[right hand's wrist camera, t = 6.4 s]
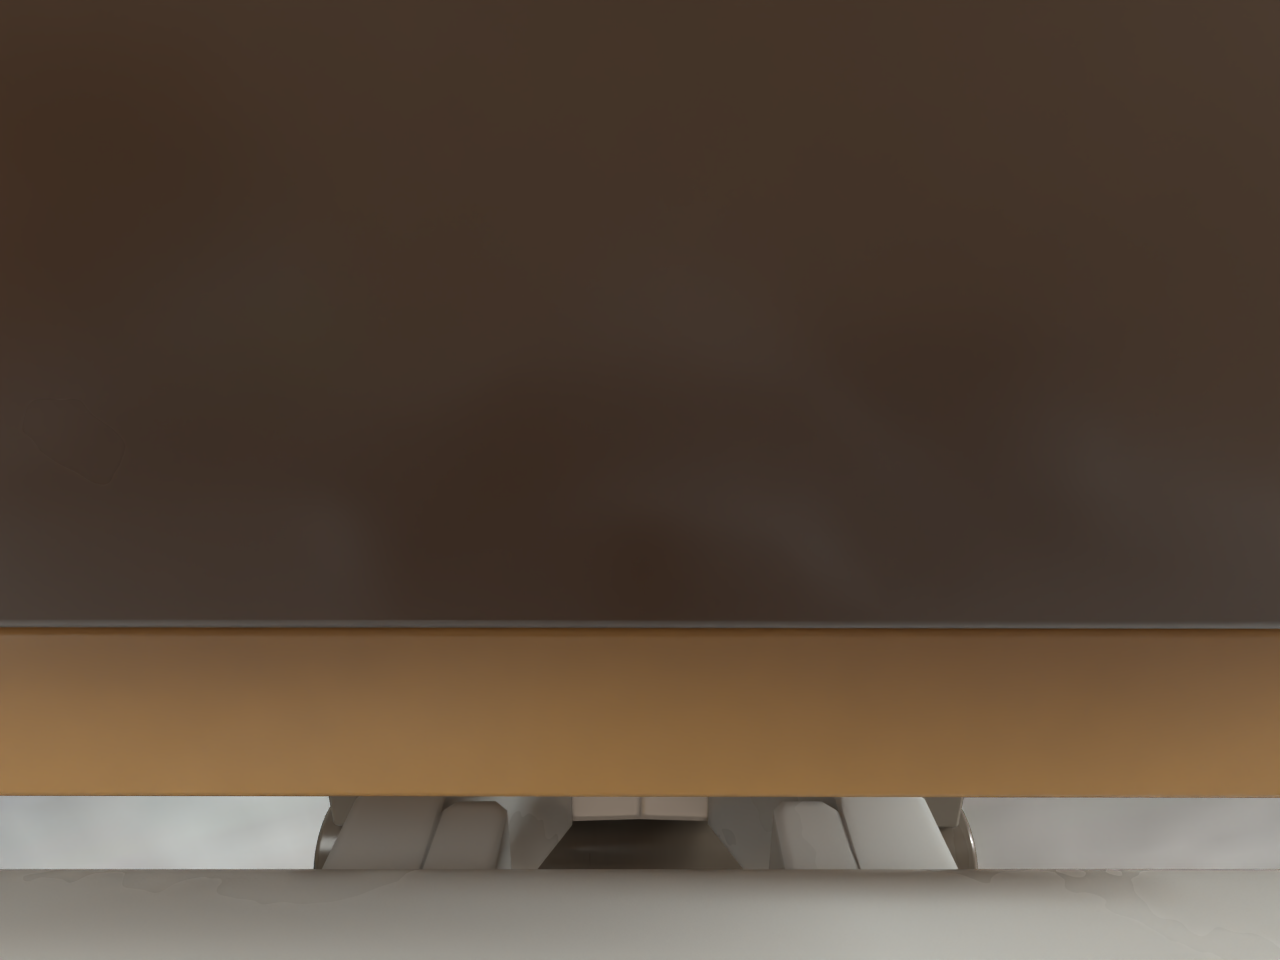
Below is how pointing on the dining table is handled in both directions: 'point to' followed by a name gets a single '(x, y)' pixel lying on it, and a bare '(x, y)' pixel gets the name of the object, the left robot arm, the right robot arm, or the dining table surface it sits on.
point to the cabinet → (640, 314)
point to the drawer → (641, 719)
